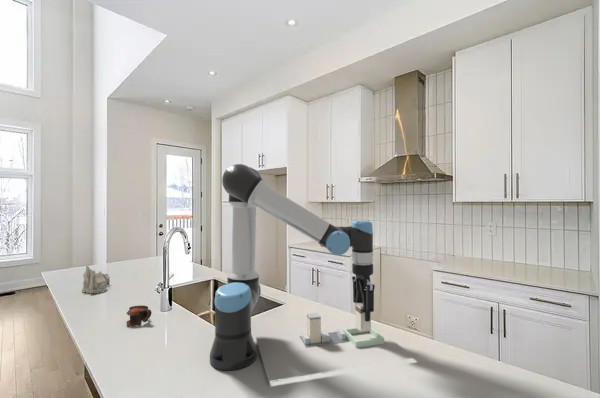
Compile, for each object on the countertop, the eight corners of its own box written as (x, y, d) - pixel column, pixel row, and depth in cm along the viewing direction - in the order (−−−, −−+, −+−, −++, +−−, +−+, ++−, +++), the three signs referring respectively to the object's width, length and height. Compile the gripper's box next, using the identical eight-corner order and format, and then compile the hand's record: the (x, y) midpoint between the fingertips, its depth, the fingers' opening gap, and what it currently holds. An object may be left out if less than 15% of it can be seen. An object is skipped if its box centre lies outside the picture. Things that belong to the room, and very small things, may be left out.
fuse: (310, 343, 110) (310, 317, 110) (307, 338, 113) (306, 313, 113) (320, 342, 111) (320, 316, 111) (317, 337, 114) (317, 312, 114)
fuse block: (306, 351, 107) (306, 341, 107) (299, 339, 115) (299, 331, 115) (349, 345, 111) (349, 336, 111) (339, 334, 119) (339, 326, 119)
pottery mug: (118, 328, 128) (122, 307, 132) (136, 329, 136) (138, 310, 140) (143, 323, 125) (145, 302, 129) (159, 325, 133) (161, 305, 137)
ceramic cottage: (90, 295, 170) (91, 267, 171) (76, 291, 179) (78, 265, 180) (119, 289, 183) (120, 264, 184) (105, 286, 192) (106, 262, 193)
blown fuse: (360, 332, 111) (360, 306, 111) (355, 327, 115) (355, 303, 115) (371, 330, 112) (371, 305, 112) (365, 326, 116) (365, 301, 116)
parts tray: (355, 350, 107) (355, 341, 107) (343, 337, 117) (343, 328, 117) (384, 346, 109) (384, 337, 109) (369, 333, 120) (369, 325, 120)
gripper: (384, 267, 106) (384, 335, 106) (361, 258, 123) (361, 316, 123) (364, 268, 104) (364, 338, 104) (343, 259, 121) (344, 318, 121)
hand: (363, 326), depth 113 cm, fingers closed on blown fuse, 4 cm apart
